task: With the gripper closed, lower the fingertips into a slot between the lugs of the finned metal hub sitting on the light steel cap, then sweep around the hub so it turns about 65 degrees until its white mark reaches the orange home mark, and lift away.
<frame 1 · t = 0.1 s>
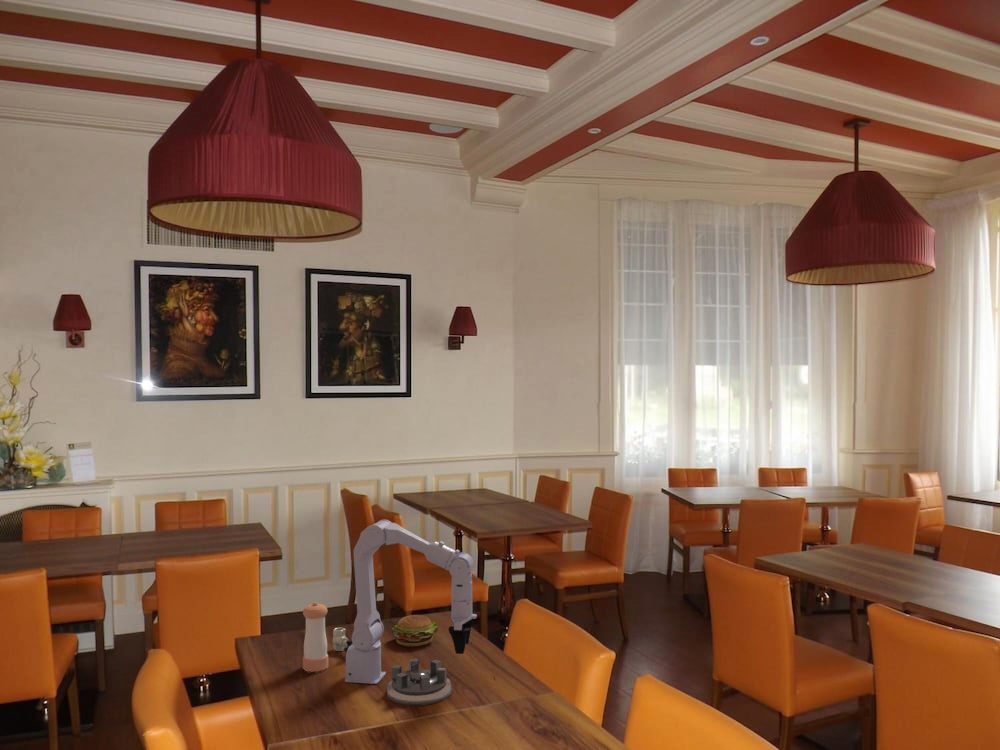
hand: (462, 648, 209), 10 cm above the table, tool pointing down, fingers open, 7 cm apart
cap base: (419, 692, 204), on the table
food: (415, 642, 245), on the table
finned metal hub: (419, 675, 204), point 4 cm above the table, hinge at 0.0°
salt shaker: (315, 668, 223), on the table
valve: (345, 654, 235), on the table
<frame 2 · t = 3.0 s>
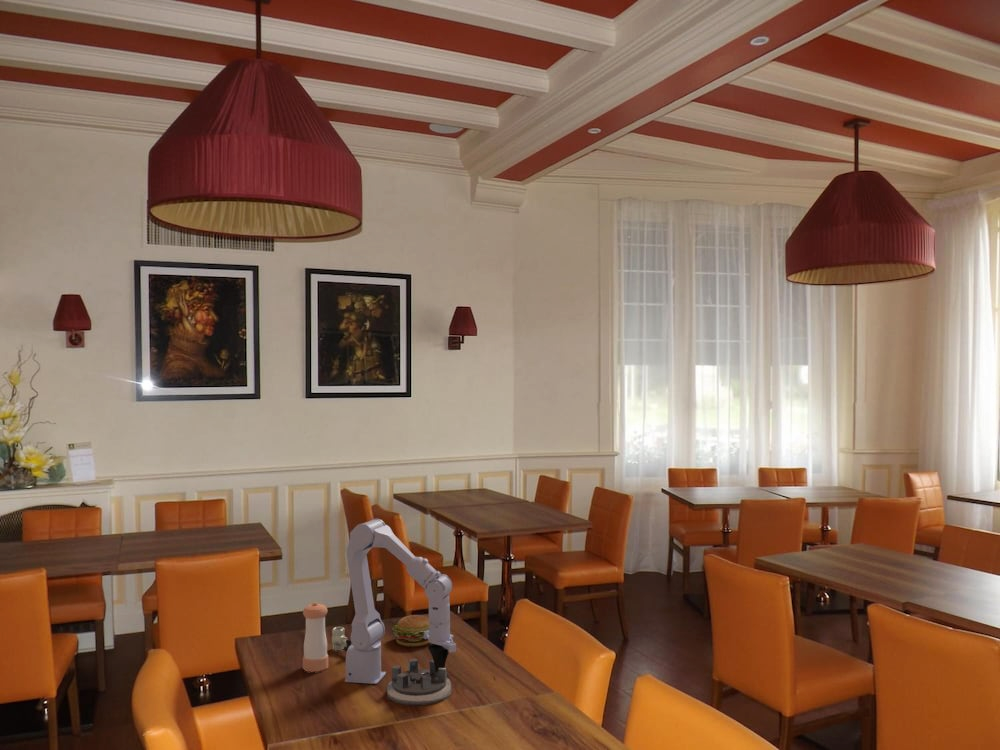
hand: (439, 671, 208), 4 cm above the table, tool pointing down, fingers closed
finned metal hub: (419, 675, 204), point 4 cm above the table, hinge at 2.5°, touching gripper
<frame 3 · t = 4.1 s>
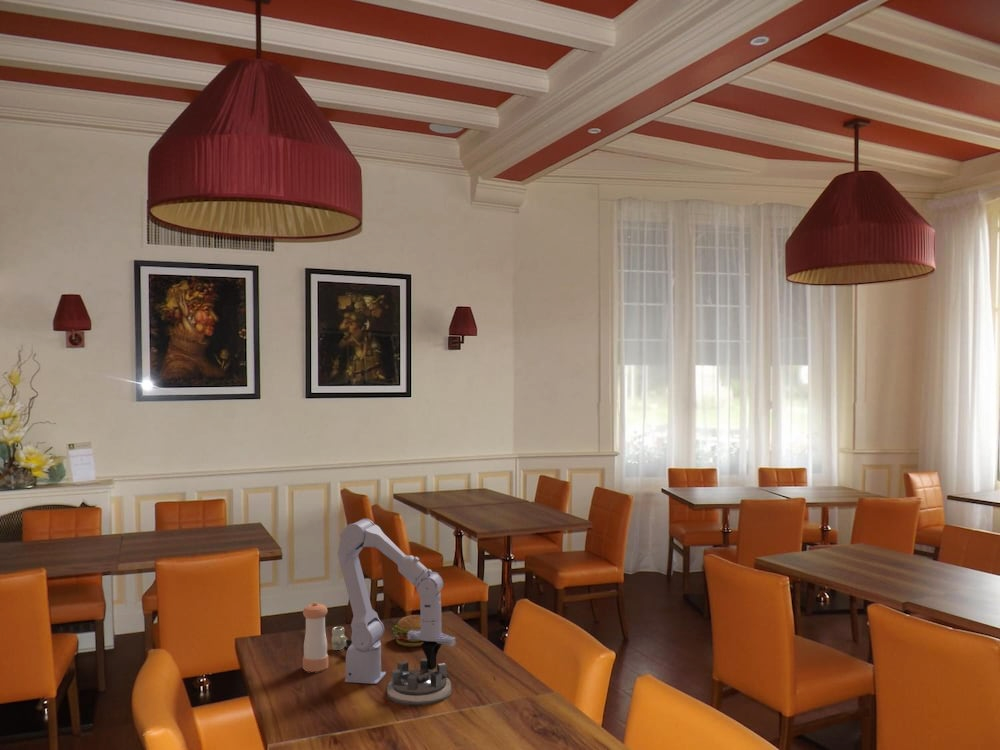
hand: (431, 668, 210), 4 cm above the table, tool pointing down, fingers closed, pressing on finned metal hub
finned metal hub: (419, 675, 204), point 4 cm above the table, hinge at 31.3°, touching gripper
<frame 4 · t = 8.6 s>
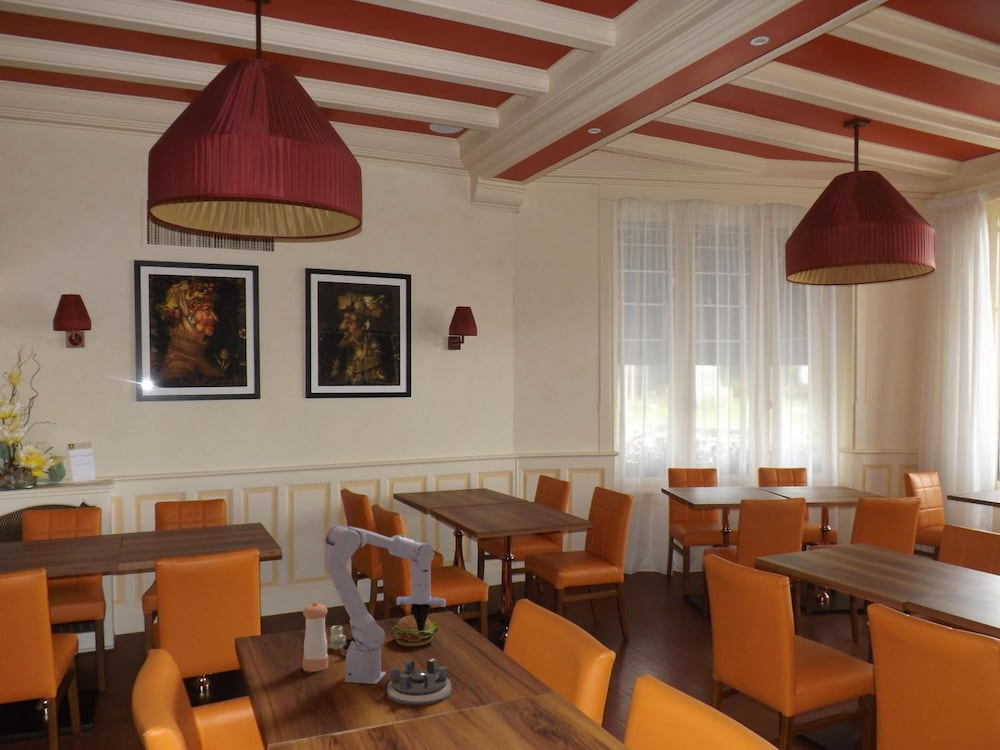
hand: (421, 629, 224), 10 cm above the table, tool pointing down, fingers closed
finned metal hub: (419, 675, 204), point 4 cm above the table, hinge at 72.1°
valve: (343, 652, 237), on the table
everything else where it was.
at the end: finned metal hub at +72° (first picture: +0°); valve moved 2.3 cm from its start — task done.
